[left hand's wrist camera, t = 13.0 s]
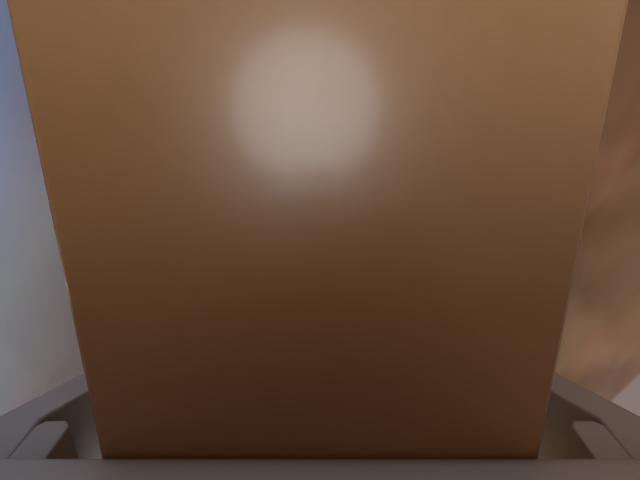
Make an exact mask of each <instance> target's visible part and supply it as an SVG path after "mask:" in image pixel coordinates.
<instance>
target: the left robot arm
mask: <svg viewBox="0 0 640 480" xmlns="http://www.w3.org/2000/svg"><path fill="white" fill-rule="evenodd" d="M0 480H640V417H639V416H637V415H635V414H634V413H632V412H630V411H628V410H626V409H624V408H622V407H620V406H618V405H616V404H614V403H613V402H611V401H609V400H607V399H605V398H603V397H601V396H599V395H597V394H595V393H593V392H591V391H590V390H588V389H586V388H584V387H582V386H580V385H578V384H576V383H574V382H572V381H570V380H569V379H567V378H565V377H563V376H561V375H559V374H557V373H554V378H553V383H552V388H551V393H550V398H549V403H548V408H547V414H546V419H545V424H544V429H543V434H542V439H541V444H540V449H539V454H538V459H102V455H101V450H100V445H99V440H98V435H97V431H96V426H95V421H94V416H93V411H92V406H91V402H90V397H89V392H88V387H87V382H86V378H85V373H83V374H81V375H79V376H77V377H75V378H73V379H71V380H70V381H68V382H66V383H64V384H62V385H60V386H58V387H56V388H54V389H52V390H50V391H48V392H47V393H45V394H43V395H41V396H39V397H37V398H35V399H33V400H31V401H29V402H27V403H25V404H24V405H22V406H20V407H18V408H16V409H14V410H12V411H10V412H8V413H6V414H4V415H2V416H1V417H0Z"/></svg>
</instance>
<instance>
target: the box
mask: <svg viewBox="0 0 640 480" xmlns="http://www.w3.org/2000/svg"><path fill="white" fill-rule="evenodd" d="M7 2H8V7H9V12H10V17H11V22H12V27H13V31H14V36H15V41H16V46H17V51H18V55H19V60H20V65H21V70H22V75H23V79H24V84H25V89H26V94H27V99H28V103H29V108H30V113H31V118H32V123H33V128H34V132H35V137H36V142H37V147H38V152H39V156H40V161H41V166H42V171H43V176H44V180H45V185H46V190H47V195H48V200H49V204H50V209H51V214H52V219H53V224H54V229H55V233H56V238H57V243H58V248H59V253H60V257H61V262H62V267H63V272H64V277H65V281H66V286H67V291H68V296H69V301H70V305H71V310H72V315H73V320H74V325H75V330H76V334H77V339H78V344H79V349H80V354H81V358H82V363H83V368H84V373H85V378H86V382H87V387H88V392H89V397H90V402H91V406H92V411H93V416H94V421H95V426H96V431H97V435H98V440H99V445H100V450H101V455H102V459H538V454H539V449H540V444H541V439H542V434H543V429H544V424H545V419H546V414H547V408H548V403H549V398H550V393H551V388H552V383H553V378H554V373H555V368H556V363H557V358H558V353H559V348H560V343H561V338H562V333H563V328H564V323H565V318H566V313H567V308H568V303H569V298H570V292H571V287H572V282H573V277H574V272H575V267H576V262H577V257H578V252H579V247H580V242H581V237H582V232H583V227H584V222H585V217H586V212H587V207H588V202H589V197H590V192H591V187H592V182H593V177H594V171H595V166H596V161H597V156H598V151H599V146H600V141H601V136H602V131H603V126H604V121H605V116H606V111H607V106H608V101H609V96H610V91H611V86H612V81H613V76H614V71H615V66H616V61H617V55H618V50H619V45H620V40H621V35H622V30H623V25H624V20H625V15H626V10H627V5H628V0H7Z"/></svg>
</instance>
